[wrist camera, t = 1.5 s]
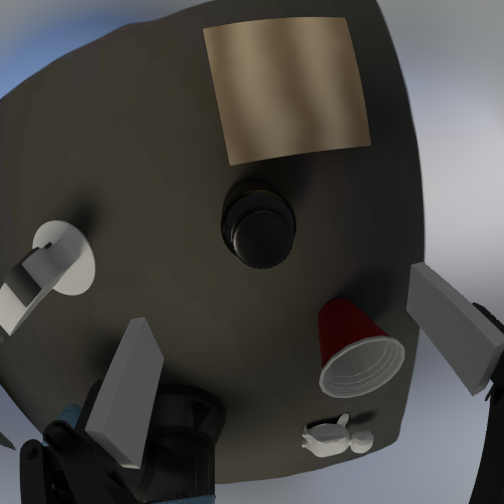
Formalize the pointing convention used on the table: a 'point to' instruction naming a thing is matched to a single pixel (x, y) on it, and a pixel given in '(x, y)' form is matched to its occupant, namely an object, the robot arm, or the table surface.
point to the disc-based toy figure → (46, 273)
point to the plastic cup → (354, 351)
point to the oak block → (287, 87)
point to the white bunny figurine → (335, 438)
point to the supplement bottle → (257, 224)
